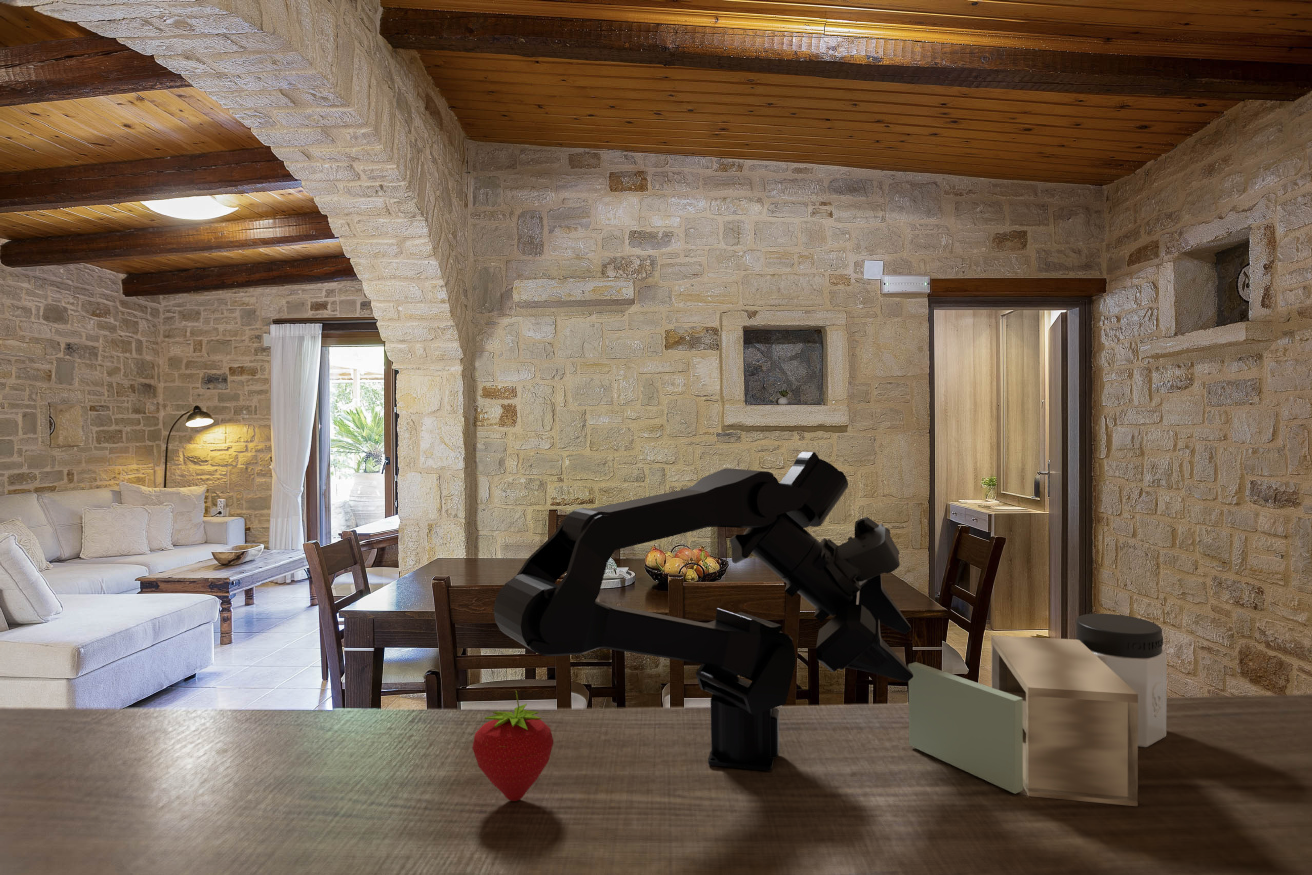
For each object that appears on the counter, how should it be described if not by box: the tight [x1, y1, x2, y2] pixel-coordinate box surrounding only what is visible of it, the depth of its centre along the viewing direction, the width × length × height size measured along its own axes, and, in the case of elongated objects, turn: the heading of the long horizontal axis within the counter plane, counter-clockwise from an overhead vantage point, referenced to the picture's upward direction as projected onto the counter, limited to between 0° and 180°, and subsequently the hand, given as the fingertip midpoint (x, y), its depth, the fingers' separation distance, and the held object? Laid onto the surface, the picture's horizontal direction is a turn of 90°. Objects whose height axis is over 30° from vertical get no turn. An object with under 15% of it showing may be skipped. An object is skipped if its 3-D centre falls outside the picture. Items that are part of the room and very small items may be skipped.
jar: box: [1075, 613, 1168, 748], centre depth 81 cm, size 9×8×12 cm
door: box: [907, 661, 1024, 794], centre depth 73 cm, size 1×12×9 cm, turn 32°
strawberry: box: [471, 690, 554, 802], centre depth 69 cm, size 6×8×10 cm
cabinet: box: [990, 635, 1139, 807], centre depth 75 cm, size 9×16×10 cm, turn 167°
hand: (909, 653), depth 79 cm, fingers open, 9 cm apart
